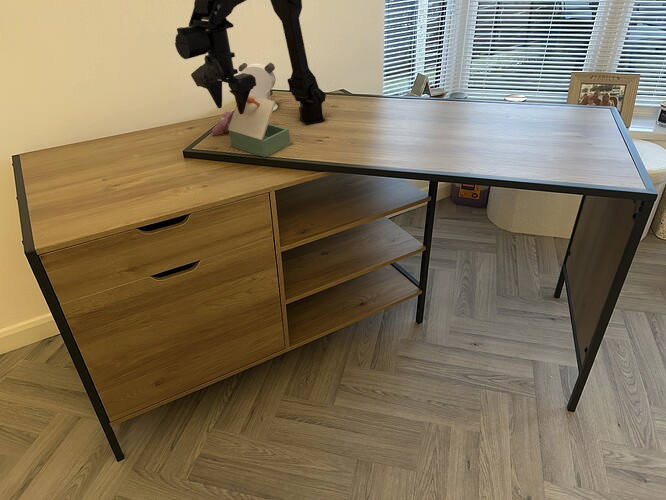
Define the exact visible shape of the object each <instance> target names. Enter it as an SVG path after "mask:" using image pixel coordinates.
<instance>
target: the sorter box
mask: <svg viewBox="0 0 666 500" xmlns="http://www.w3.org/2000/svg"><path fill="white" fill-rule="evenodd" d="M228 133H229V137H230V143H231V147H233V148H236V149H238V150H242V151H245V152H248V153H251V154H253V155H256V156H260V157H263V158H266V157H268V156H270V155H272V154H274V153H277V152H278V151H280V150H283V149H285V148H286V147H288V146H290V145H291V137H290V130H289V128H286V127H282V126H279V125H275V124H272V123H268V126H267V129H266V132H265V135H264V138H263V140H259V139H256V138H252V137H249V136H246V135H243V134H239V133H236V132H233V131H229V130H228Z"/></svg>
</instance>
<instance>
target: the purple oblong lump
mask: <svg viewBox="0 0 666 500" xmlns="http://www.w3.org/2000/svg"><path fill="white" fill-rule="evenodd" d="M233 113H234V110H233V111H232V110H230V109H228V111H225V112H223V113H222V115H221V117H220V118H219V120H218V122H217V123H216V125H215V126H214V127H212V129H211V134H212V136H219V135H221V134H223V132H224V133H228V131H229V130H228V128H229V125H230V122H231V119H232V116H233Z"/></svg>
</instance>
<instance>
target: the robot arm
mask: <svg viewBox="0 0 666 500" xmlns="http://www.w3.org/2000/svg"><path fill="white" fill-rule="evenodd" d="M269 1H270V4H271V6H272V9H273V13H274V14H275V15H276V16H277V17H278V19H279V20H280V22H281V25H282V29H283V33H284V39H285V43H286V48H287V51H288V57H289V61H290V65H291V70H292V71H291V75H290V77H289V78H287V84H288V88H289V90H288V92H290V94H291V95H292V97H293V98H294V99H295V102H299V107H298V112H299V119H300V120H301V121H302V122H303V123H304V124H305V125H308V126H309V125H313V124H317V123H321V122H325V121H326V119H325V118H324V117H323V116H324V115H323V103H325V102H326V97H327V94H326V92H324V91H323V90H322V89H321V88H320V87H319V84H318V81H317V79H316V76H315V74H314V73H313V72H312V71H311V69H310V67H309V62H308V58H307V52H306V48H305V42H304V37H303V32H302V26H301V21H300V16H301V14H302V9H303V0H269ZM244 2H247V0H194V3H193V10H192V13H191V16H190V20H189V22H188V26H184V27H177V28H176V32H177V34H176V35H175V40H174V41H175V42H174V45H175V49H176V52H177V53H178V56H179V57H181V58H182V59H184V60H189V59H193V58H196V57H200V56H204V64H201V65H200V66H199V67H197V68H196V69H195V70H194V71H192V73H190V77H191V78H192V80H193V81H194V83H195V85H196V87H198V88H199V87H201V88H203V89H206V91H208V93H209V95H210V96H211V98H212V101H213V102H214V104H215V105H216V108H217V109H222V108H223V83H226V84H227V85H228V88H229V89H230V90H229V93H230V94H231V95H233V96H234V99H235V103H236V104H237V108H238V111H239V114H243V113H244V110H245V106H246V103H247V99H248V96H249V94H250V91H251V89H253V87H254V86H256V79H255V77H254V76H253V75H250V74H245V73H242V72H241V73H242V74H241V73H240V74H239V69H237V68H235V67H234V62H233V58H235V57H236V53H235V52H234V51H231V45H230V39H229V36H228V29H231V28H234V23H232V22H230V21H229V20H228V19H227V17H229V16H230V15H232V13H233V11H234V9H235V8H236V7H237V6H239V5H241V4H243V3H244ZM206 54H207V55H206ZM236 104H235V105H236Z"/></svg>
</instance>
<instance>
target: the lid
mask: <svg viewBox="0 0 666 500" xmlns="http://www.w3.org/2000/svg"><path fill="white" fill-rule="evenodd" d="M275 104H277V101H275V100H272V99H271V100H268V99H264V98H259V97H255V96H251V95H249V96H248V99H247V103H246V106H245V110H244V113H243V114H239V111H238V108H237V104H235V107H234V110H233V112H234V113H233V116H232V119H231V122H230V125H229V128H228V130H227V131H228V132H229V131H233V132H236V133H239V134H243V135H246V136H249V137H252V138H256V139H259V140H263V138H264V135H265V132H266V129H267V126H268V124H270V120H271V118H272V114H273V112H274V111H273V109H274V106H275Z"/></svg>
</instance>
